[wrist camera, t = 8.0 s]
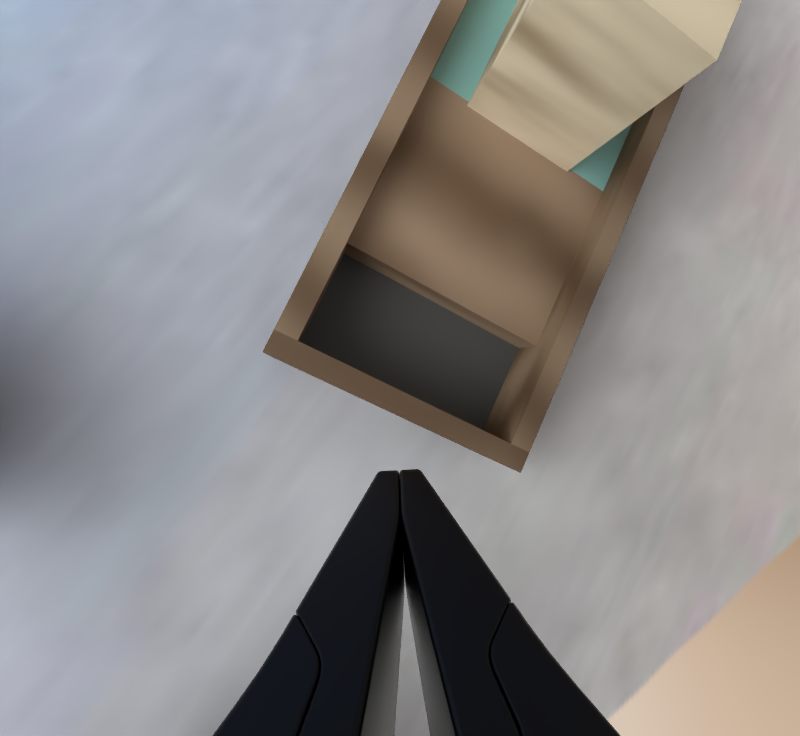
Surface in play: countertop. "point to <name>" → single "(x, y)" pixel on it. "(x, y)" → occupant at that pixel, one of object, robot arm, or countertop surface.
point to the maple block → (594, 67)
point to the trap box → (462, 253)
